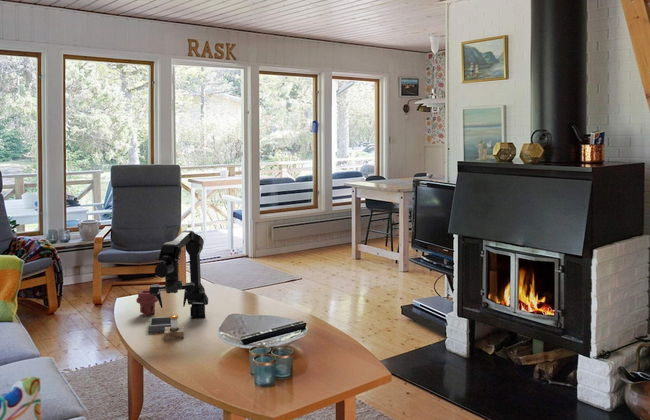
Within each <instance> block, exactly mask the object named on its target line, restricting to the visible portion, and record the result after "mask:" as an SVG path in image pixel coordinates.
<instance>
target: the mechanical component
mask: <svg viewBox="0 0 650 420" xmlns="http://www.w3.org/2000/svg"><path fill="white" fill-rule="evenodd" d="M135 301H136V303H137V304H138V305H139V313H141V314H142V315H143V317H148V316H150V315H151V316H152V315H155V314H156V303H157V302H159V301H158V299H157V297H156V296H153V294H150V288H145V289H142V290H140V291H138V292H137V298H136V300H135Z"/></svg>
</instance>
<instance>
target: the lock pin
mask: <svg viewBox="0 0 650 420" xmlns="http://www.w3.org/2000/svg"><path fill="white" fill-rule="evenodd" d="M169 317H170V319H171V331H178V326H179V325H178V318H179V315H178V314H171V315H169Z"/></svg>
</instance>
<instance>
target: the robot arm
mask: <svg viewBox="0 0 650 420" xmlns="http://www.w3.org/2000/svg"><path fill="white" fill-rule="evenodd" d="M204 244H205V242H204V239H203V237H202V236H201V235H199V234H197V233H195V232H194V231H193V230H182V231H181V232H180V234H179V235H178V236H177V237H176V238H174V239H173V240H171V241H167V242H164V243H163V244H162V246H161V248H160V252H159V256H158V264H157V265H156V266H155V268H154V273H155V276H157V277H158V278H160V279H161V278H162V279H163V278H164V281H165V282H164V286H161V285H160V283H157V284H156V283H155V284H151V285H149V289H150V294H153V296H156V297H157V299H158V301H157V302H158V303H159V305H160V308H161V309H163V299H162V292H163V291H164V292H165V293H166V294H168V295H169V294H177V293H178V292H179V291H181V290H184V294H183V304H182V305H183V307H186V302H187V305H189V307H190V308H189V309H190V310H189V311H190V313H189V314H190V317H191V319H204V318H206V306H207V305H209V297H208V296H207V294H206V290H205V287H204V286H203V285H202V280H201V279H202V276H201V257H200V255H201V252H202V250H203V249H204ZM184 247H185V248H184ZM182 248H184V249H185V252H186V253H187V254H188V256H189V274H190V276H189V277H190V279H189V280H190V282H184V285H183V280H180V276H179V275H180V274H179V273H180V272H179V261H180V259H181V258H180V257H181V253H182ZM190 305H191V306H190Z"/></svg>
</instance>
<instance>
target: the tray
mask: <svg viewBox="0 0 650 420" xmlns="http://www.w3.org/2000/svg"><path fill="white" fill-rule="evenodd" d="M165 327H171V319H170V316H160V317H149V323H148V332H149V333H151V334H152V333H162V332H164V333H165Z"/></svg>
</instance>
